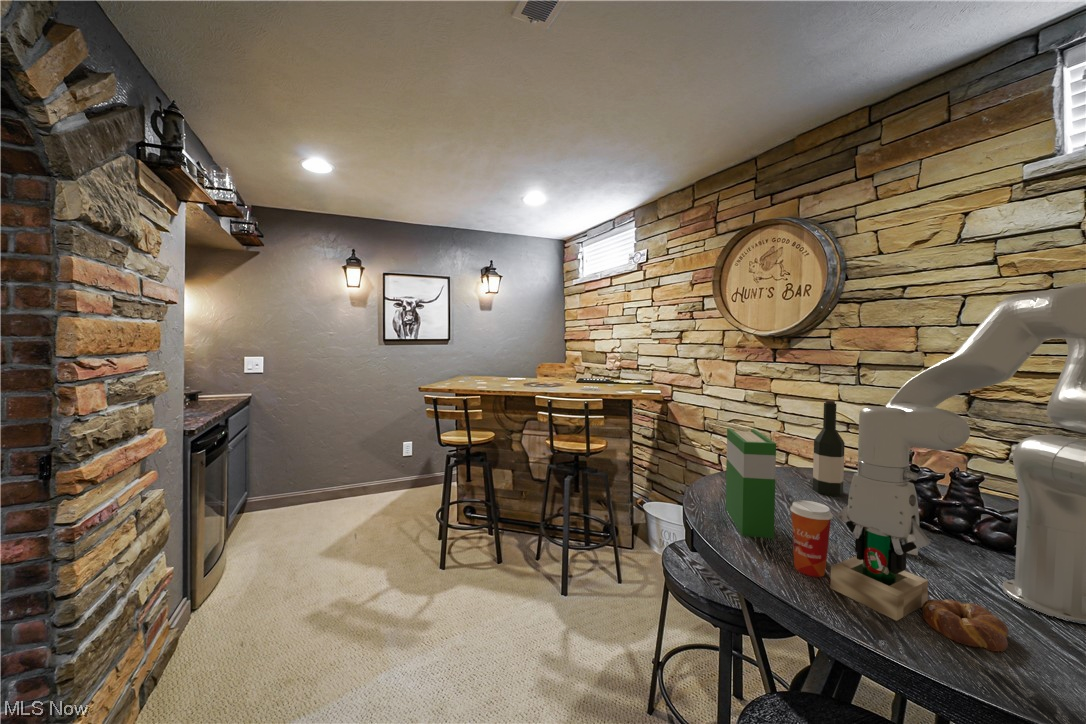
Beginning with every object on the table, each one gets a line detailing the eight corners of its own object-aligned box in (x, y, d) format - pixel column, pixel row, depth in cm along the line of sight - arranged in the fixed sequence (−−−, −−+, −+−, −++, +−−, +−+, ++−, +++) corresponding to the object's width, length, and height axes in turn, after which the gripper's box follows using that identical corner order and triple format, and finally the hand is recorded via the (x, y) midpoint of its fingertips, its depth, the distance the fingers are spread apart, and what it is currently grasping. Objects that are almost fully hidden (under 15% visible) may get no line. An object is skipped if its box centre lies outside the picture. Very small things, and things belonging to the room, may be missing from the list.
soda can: (883, 579, 83) (885, 520, 82) (902, 595, 78) (904, 532, 77) (856, 578, 83) (857, 519, 83) (873, 593, 78) (875, 531, 78)
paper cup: (780, 564, 92) (781, 502, 92) (805, 558, 95) (806, 497, 94) (814, 583, 85) (816, 515, 84) (840, 576, 88) (842, 510, 87)
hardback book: (725, 508, 123) (727, 428, 122) (752, 510, 122) (754, 429, 121) (742, 535, 106) (744, 442, 105) (773, 538, 105) (776, 443, 103)
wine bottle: (806, 488, 140) (808, 399, 139) (825, 486, 143) (827, 398, 141) (830, 497, 132) (833, 403, 131) (849, 494, 135) (852, 401, 133)
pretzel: (938, 603, 79) (939, 584, 79) (1024, 639, 69) (1025, 618, 69) (907, 621, 74) (908, 601, 73) (995, 664, 64) (996, 640, 64)
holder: (927, 603, 78) (928, 580, 78) (896, 620, 73) (897, 596, 73) (861, 574, 88) (861, 553, 88) (830, 588, 83) (830, 566, 83)
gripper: (950, 481, 74) (946, 582, 75) (845, 458, 89) (842, 542, 90) (929, 488, 70) (925, 593, 71) (823, 463, 86) (821, 549, 86)
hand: (879, 563), depth 80 cm, fingers closed on soda can, 5 cm apart
